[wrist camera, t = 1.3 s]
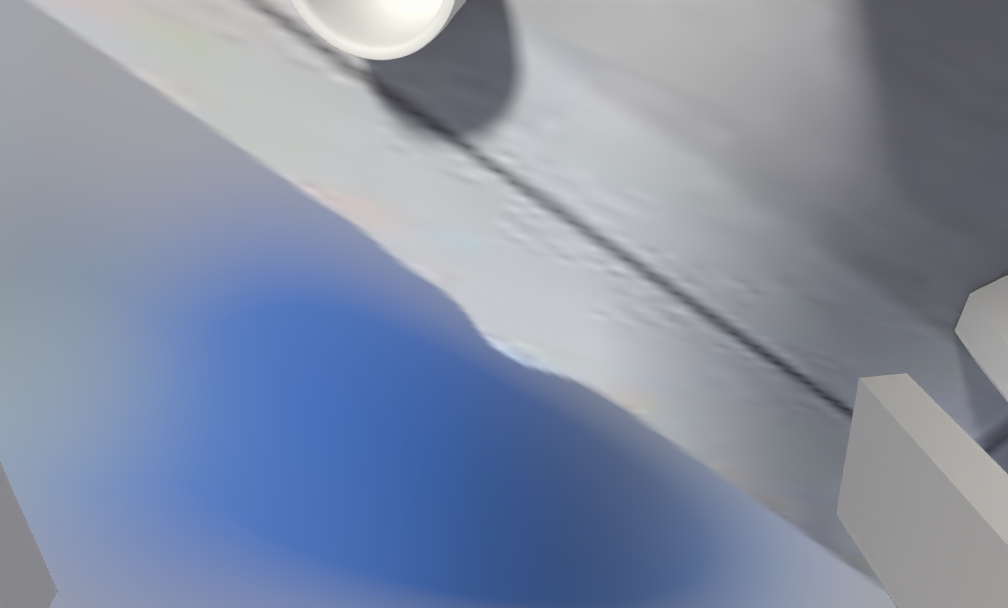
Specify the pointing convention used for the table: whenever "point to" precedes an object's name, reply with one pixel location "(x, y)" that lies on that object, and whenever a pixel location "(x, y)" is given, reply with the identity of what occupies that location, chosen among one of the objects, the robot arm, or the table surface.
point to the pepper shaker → (988, 331)
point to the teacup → (378, 24)
